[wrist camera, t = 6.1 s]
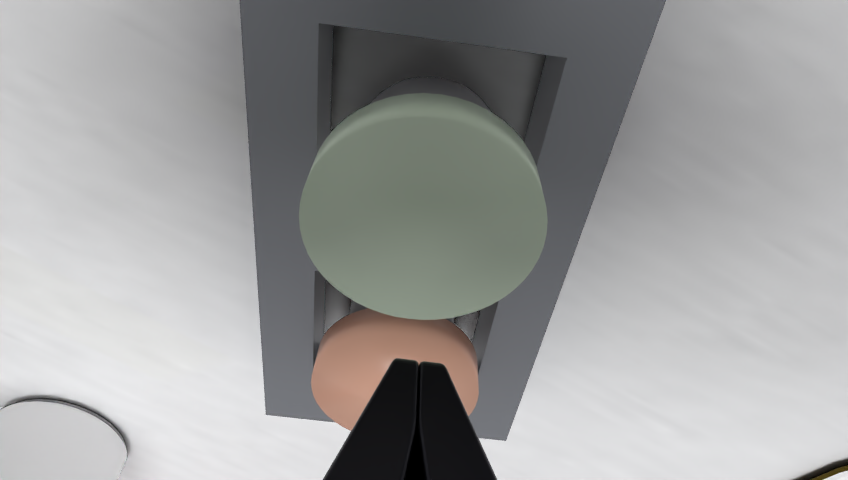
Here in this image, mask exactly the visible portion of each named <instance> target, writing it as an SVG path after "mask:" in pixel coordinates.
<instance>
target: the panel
mask: <svg viewBox="0 0 848 480" xmlns="http://www.w3.org/2000/svg"><path fill="white" fill-rule="evenodd" d="M665 1H666V0H240V13H241V29H242V44H243V60H244V76H245V92H246V108H247V123H248V139H249V155H250V171H251V186H252V202H253V218H254V234H255V250H256V265H257V281H258V297H259V313H260V329H261V344H262V360H263V376H264V392H265V407H266V415H273V416H282V417H291V418H300V419H310V420H319V421H328V422H335V421H333V420H332V419H331V418H330V417H328V416H327V415H326V414H325V413H324V412H323V411H322V409H321V408H320V407H319V405H318V404H317V402H316V400H315V398H314V396H313V392H312V388H311V378H312V372H313V368H314V364H315V360H316V356H317V352H318V348H319V345H320V342H321V340H322V338H323V336H324V313H325V281H326V279H325V278H324V277H323V276H322V274H321V273H320V272H319V271H318V269H317V268H316V267H315V265H314V264H313V262H312V260H311V258H310V257H309V255H308V253H307V250H306V248H305V246H304V243H303V240H302V236H301V232H300V224H299V207H300V200H301V196H302V192H303V189H304V186H305V183H306V181H307V178H308V175H309V173H310V170H311V168H312V165H313V162H314V160H315V158H316V155H317V153H318V151H319V149H320V147H321V146H322V144H323V142H324V141H325V139H326V138H327V136H328V135H329V134H330V122H331V90H332V58H333V26H334V25H336V26H343V27H350V28H357V29H364V30H371V31H378V32H386V33H393V34H400V35H407V36H414V37H421V38H428V39H436V40H443V41H450V42H457V43H464V44H471V45H478V46H485V47H493V48H500V49H507V50H514V51H521V52H528V53H535V54H543V55H546V59H545V63H544V67H543V71H542V74H541V78H540V82H539V86H538V90H537V94H536V98H535V102H534V105H533V109H532V113H531V117H530V121H529V125H528V129H527V133H526V136H525V140H524V143H525V144H526V146H527V148H528V149H529V151H530V152H531V155H532V157H533V159H534V161H535V164H536V166H537V170H538V174H539V178H540V182H541V186H542V191H543V195H544V199H545V203H546V208H547V219H548V223H547V235H546V239H545V243H544V247H543V250H542V252H541V255H540V257H539V259H538V261H537V263H536V264H535V266H534V268H533V269H532V271H531V272H530V273H529V275H528V276H527V277H526V278H525V280H524V281H523V282H522V283H521V284H520V285H519V286H518V287H517V288H516V289H514V290H513V291H512V292H511V293H509V294H508V295H507V296H505V297H504V298H502V299H501V300H499V301H497V302H496V303H494V304H492V305H490V306H488V307H486V308H483V309H481V311H480V315H479V319H478V323H477V326H476V330H475V334H474V338H473V342H472V344H473V346H474V349H475V351H476V355H477V363H478V384H479V395H478V401H477V403H476V406H475V408H474V410H473V411H472V413H471V414H470V415H469V416H468V417H469V419H470V421H471V423H472V425H473V428H474V430H475V432H476V434H477V436H478V438H485V439H494V440H504V441H506V439H507V436H508V434H509V431H510V428H511V425H512V423H513V420H514V417H515V414H516V412H517V409H518V406H519V403H520V401H521V398H522V395H523V392H524V390H525V387H526V384H527V381H528V379H529V376H530V373H531V370H532V368H533V365H534V362H535V359H536V357H537V354H538V351H539V348H540V346H541V343H542V340H543V337H544V334H545V332H546V329H547V326H548V323H549V321H550V318H551V315H552V312H553V310H554V307H555V304H556V301H557V299H558V296H559V293H560V290H561V288H562V285H563V282H564V279H565V277H566V274H567V271H568V268H569V266H570V263H571V260H572V257H573V255H574V252H575V249H576V246H577V244H578V241H579V238H580V235H581V233H582V230H583V227H584V224H585V222H586V219H587V216H588V213H589V211H590V208H591V205H592V202H593V200H594V197H595V194H596V191H597V189H598V186H599V183H600V180H601V178H602V175H603V172H604V169H605V167H606V164H607V161H608V158H609V156H610V153H611V150H612V147H613V145H614V142H615V139H616V136H617V134H618V131H619V128H620V125H621V123H622V120H623V117H624V114H625V112H626V109H627V106H628V103H629V101H630V98H631V95H632V92H633V90H634V87H635V84H636V81H637V79H638V76H639V73H640V70H641V68H642V65H643V62H644V59H645V57H646V54H647V51H648V48H649V46H650V43H651V40H652V37H653V35H654V32H655V29H656V26H657V23H658V21H659V18H660V15H661V12H662V10H663V7H664V4H665Z"/></svg>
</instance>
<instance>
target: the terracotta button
mask: <svg viewBox="0 0 848 480" xmlns="http://www.w3.org/2000/svg"><path fill="white" fill-rule="evenodd" d="M396 358H401V359H409V360H415V361H417V362H418V364H420V363H421V362H423V361H426V362H434V363H441V364H443V365H445V367H446V368H447V370H448V373H449V375H450V377H451V379H452V381H453V384H454V386H455V388H456V390H457V392H458V395H459V397H460V399H461V401H462V403H463V406H464V408H465V410H466V412H467V414H468V416H469V415H470V414H471V413H472V411H473V410H474V408H475V406H476V403H477V401H478V395H479V384H478V363H477V355H476V351H475V349H474V346H473V344H472V343H471V341H470V340H469V338H468V337H467V336H466V335H465V333H464V332H463V331H462V330H461V329H459V328H458V327H457V326H456V325H455V324H454V317H453V318H447V319H438V320H417V319H406V318H400V317H394V316H391V315H387V314H383V313H380V312H377V311H374V310H372V309H369V308H367V307H365V306H363V305H361V304H358V303H356V302H355V301H353V300H352V302H351V307H350V312H349V315H347V316H345V317H343V318H342V319H340V320H339V321H337V322H336V323H335V324H333V325H332V326H331V327H330V328H329V329H328V331H327V332H326V333H325V334H324V336H323V338H322V340H321V342H320V345H319V348H318V352H317V356H316V360H315V364H314V368H313V372H312V378H311V388H312V392H313V396H314V398H315V400H316V402H317V404H318V405H319V407H320V408H321V409H322V411H323V412H324V413H325V414H326V415H327V416H328V417H330V418H331V419H332V420H333V421H335V422H336V423H338V424H339V425H341V426H343V427H345V428H346V429H348V430H351V431H352V429H353V427H354V426H355V424H356V422H357V420H358V419H359V417H360V415H361V414H362V412H363V410H364V409H365V407H366V405H367V403H368V402H369V400H370V398H371V397H372V395H373V393H374V391H375V390H376V388H377V386H378V385H379V383H380V381H381V380H382V378H383V376H384V374H385V373H386V371H387V369H388V368H389V366H390V364H391V363H392V361H393V360H394V359H396Z"/></svg>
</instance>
